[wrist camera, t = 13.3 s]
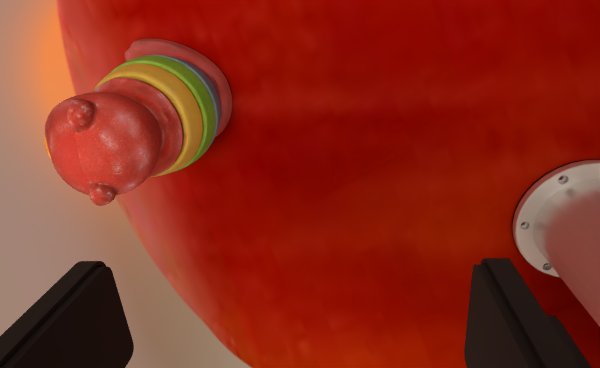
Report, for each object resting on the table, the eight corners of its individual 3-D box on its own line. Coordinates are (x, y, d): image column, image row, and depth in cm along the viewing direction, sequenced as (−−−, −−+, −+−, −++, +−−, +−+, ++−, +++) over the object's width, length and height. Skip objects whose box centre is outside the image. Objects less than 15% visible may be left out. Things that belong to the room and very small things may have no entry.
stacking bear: (125, 37, 38) (-36, 59, 22) (233, 41, 38) (148, 68, 21) (140, 148, 43) (13, 236, 26) (236, 154, 42) (168, 249, 26)
